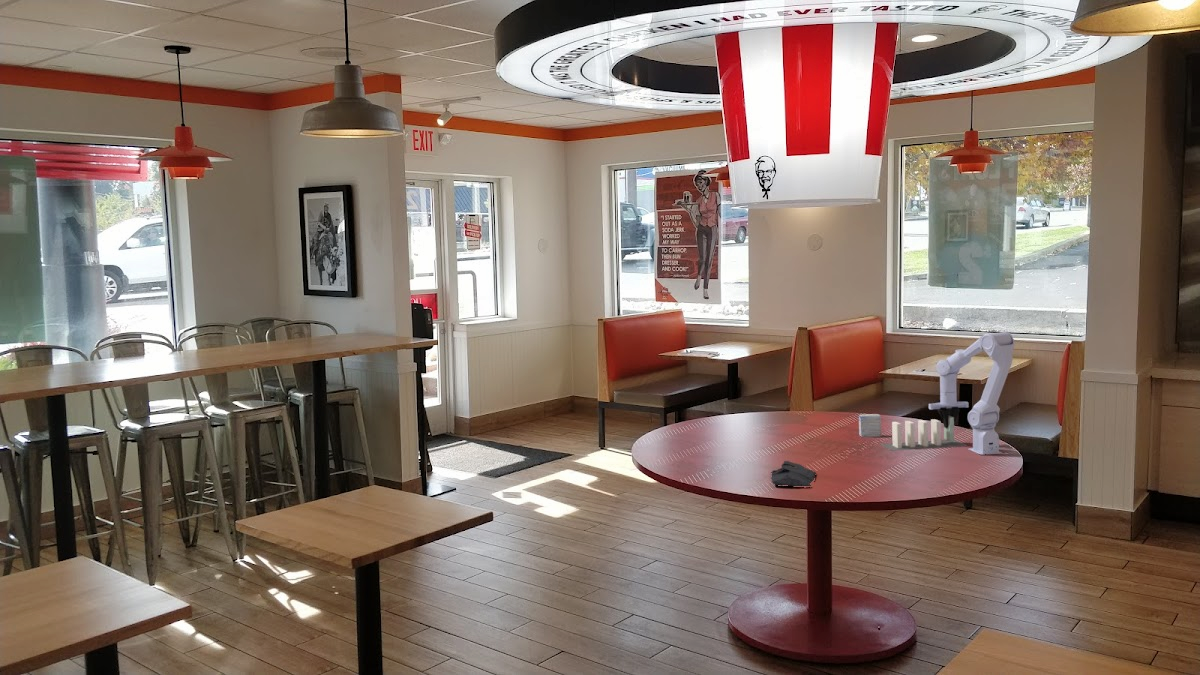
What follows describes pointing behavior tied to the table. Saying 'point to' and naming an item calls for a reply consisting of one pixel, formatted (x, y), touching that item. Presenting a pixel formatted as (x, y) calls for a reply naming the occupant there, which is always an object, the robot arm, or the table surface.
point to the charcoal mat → (917, 446)
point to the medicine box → (870, 425)
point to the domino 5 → (949, 429)
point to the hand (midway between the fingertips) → (948, 427)
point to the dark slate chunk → (792, 475)
